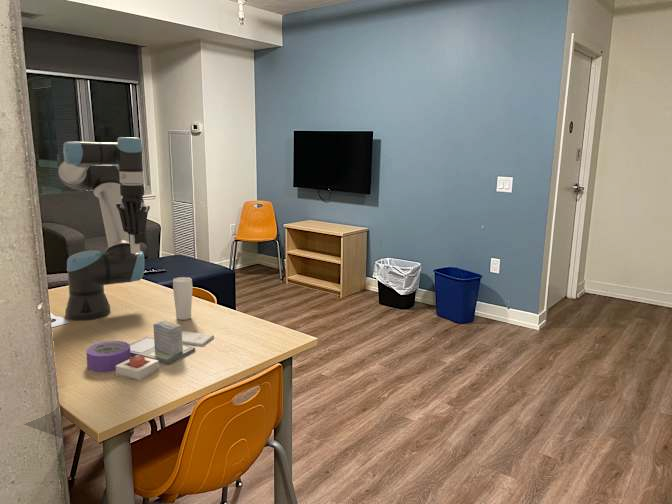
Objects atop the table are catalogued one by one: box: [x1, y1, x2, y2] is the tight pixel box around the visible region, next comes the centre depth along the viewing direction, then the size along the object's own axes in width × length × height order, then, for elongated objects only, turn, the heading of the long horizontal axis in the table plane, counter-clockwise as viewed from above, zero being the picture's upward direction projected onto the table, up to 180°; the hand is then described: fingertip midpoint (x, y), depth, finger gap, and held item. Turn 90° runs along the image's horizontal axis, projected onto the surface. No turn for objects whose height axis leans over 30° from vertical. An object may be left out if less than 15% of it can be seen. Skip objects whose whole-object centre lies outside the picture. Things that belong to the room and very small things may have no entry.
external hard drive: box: [182, 330, 215, 347], centre depth 169 cm, size 2×8×12 cm
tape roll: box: [86, 340, 132, 373], centre depth 149 cm, size 12×12×5 cm
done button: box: [130, 356, 145, 368], centre depth 143 cm, size 4×4×3 cm
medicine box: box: [153, 320, 184, 356], centre depth 156 cm, size 8×4×9 cm, turn 59°
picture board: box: [128, 336, 196, 366], centre depth 159 cm, size 20×12×1 cm, turn 66°
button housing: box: [115, 355, 160, 382], centre depth 144 cm, size 8×8×3 cm
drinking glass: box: [172, 276, 193, 321], centre depth 187 cm, size 7×7×15 cm
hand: (135, 252), depth 175 cm, fingers closed
